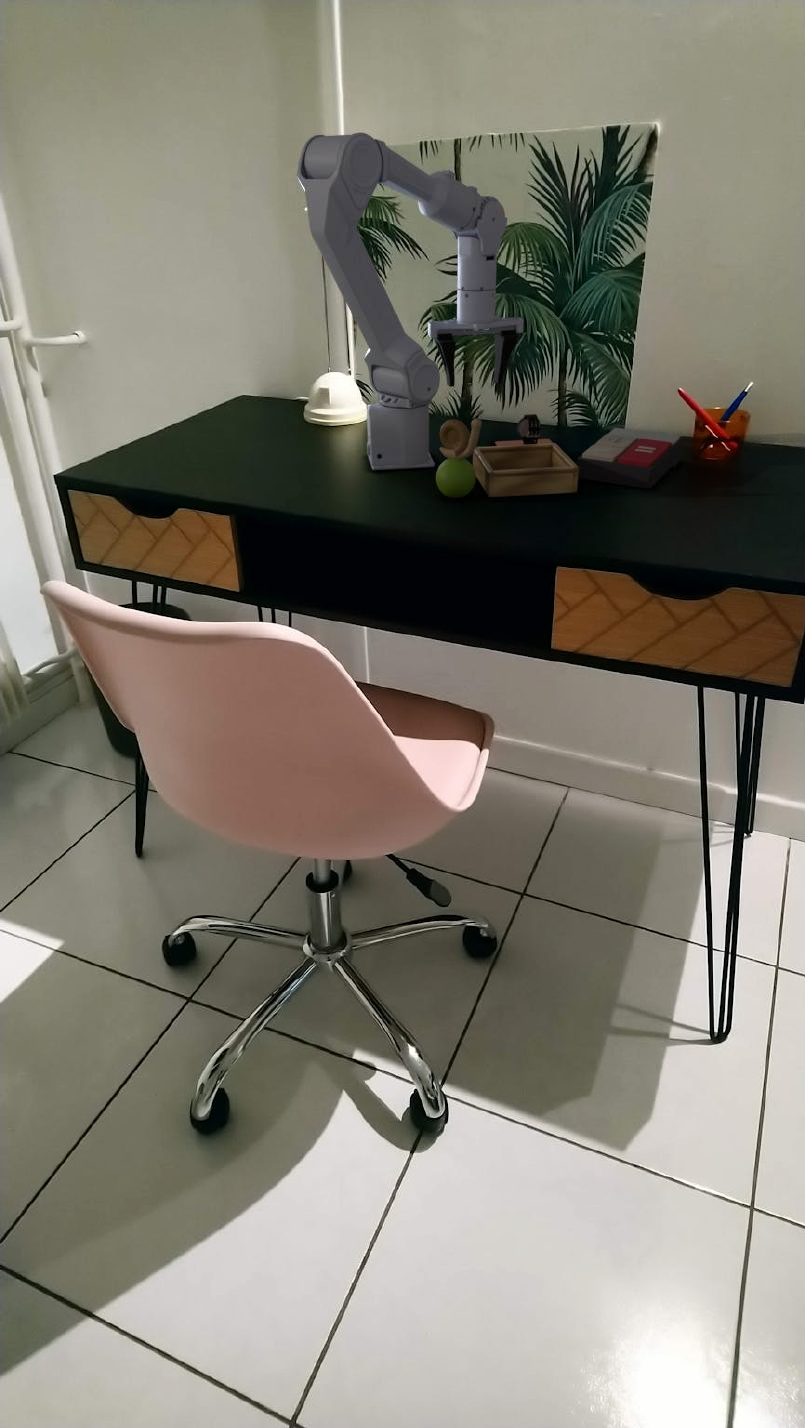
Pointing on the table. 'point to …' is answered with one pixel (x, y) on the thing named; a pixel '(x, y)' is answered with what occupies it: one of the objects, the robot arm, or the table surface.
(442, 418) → the table surface
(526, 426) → the smartwatch
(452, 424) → the snail figurine
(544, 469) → the wooden box
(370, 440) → the robot arm
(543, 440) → the coaster
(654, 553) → the table surface
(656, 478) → the grey and red box
